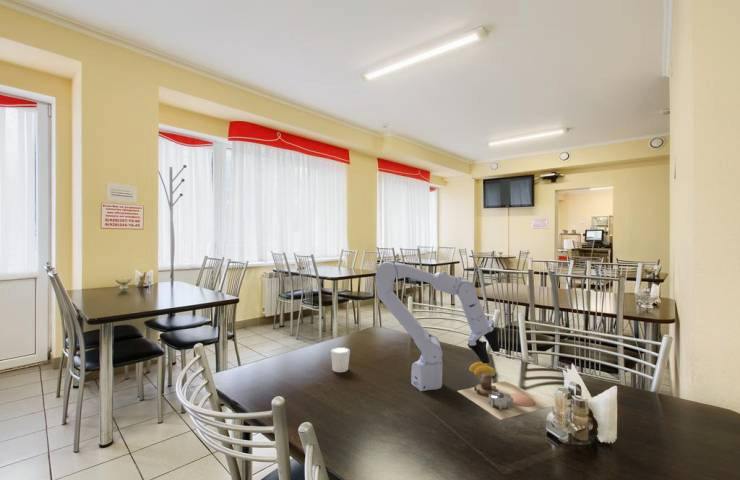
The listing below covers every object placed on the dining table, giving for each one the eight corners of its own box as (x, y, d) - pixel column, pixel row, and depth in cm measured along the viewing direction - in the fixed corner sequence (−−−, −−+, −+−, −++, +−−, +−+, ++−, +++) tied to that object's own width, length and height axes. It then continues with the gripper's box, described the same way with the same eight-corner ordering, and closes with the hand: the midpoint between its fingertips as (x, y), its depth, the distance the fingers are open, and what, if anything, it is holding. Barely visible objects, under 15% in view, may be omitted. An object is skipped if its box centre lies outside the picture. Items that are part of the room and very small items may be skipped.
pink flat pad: (520, 408, 98) (520, 407, 98) (500, 396, 105) (500, 395, 105) (540, 403, 101) (540, 402, 101) (519, 392, 108) (519, 391, 108)
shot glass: (348, 373, 123) (349, 353, 123) (329, 372, 124) (329, 353, 123) (350, 365, 130) (350, 347, 130) (331, 365, 130) (332, 346, 130)
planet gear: (485, 398, 104) (485, 381, 103) (469, 389, 110) (469, 372, 110) (503, 394, 106) (503, 377, 106) (487, 385, 113) (487, 369, 113)
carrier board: (500, 423, 92) (500, 419, 92) (456, 394, 109) (456, 390, 109) (553, 408, 100) (553, 405, 100) (505, 383, 117) (505, 380, 117)
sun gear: (500, 412, 96) (500, 401, 96) (483, 401, 102) (483, 391, 102) (518, 408, 98) (518, 397, 98) (500, 397, 104) (501, 387, 104)
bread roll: (479, 381, 119) (480, 369, 119) (466, 371, 127) (466, 360, 127) (501, 379, 121) (501, 367, 121) (486, 369, 129) (486, 358, 129)
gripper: (476, 324, 103) (493, 368, 103) (496, 306, 113) (512, 345, 113) (456, 326, 108) (472, 368, 108) (477, 308, 118) (492, 346, 118)
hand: (491, 356), depth 111 cm, fingers open, 7 cm apart
